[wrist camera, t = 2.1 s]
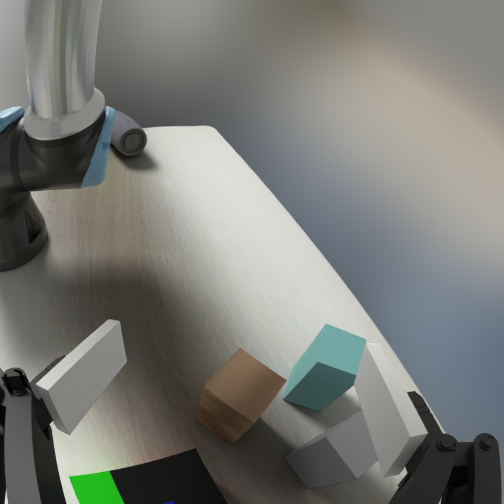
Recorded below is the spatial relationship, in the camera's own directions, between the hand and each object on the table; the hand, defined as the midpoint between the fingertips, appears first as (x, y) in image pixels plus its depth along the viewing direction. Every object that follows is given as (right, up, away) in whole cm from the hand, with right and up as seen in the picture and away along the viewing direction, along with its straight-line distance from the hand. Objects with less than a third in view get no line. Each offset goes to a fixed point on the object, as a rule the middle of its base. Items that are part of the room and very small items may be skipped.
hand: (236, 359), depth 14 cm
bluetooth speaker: (-39, +37, +61) cm, 81 cm away
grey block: (+8, -18, +11) cm, 22 cm away
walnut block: (-2, -13, +13) cm, 19 cm away
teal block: (+8, -12, +18) cm, 23 cm away
